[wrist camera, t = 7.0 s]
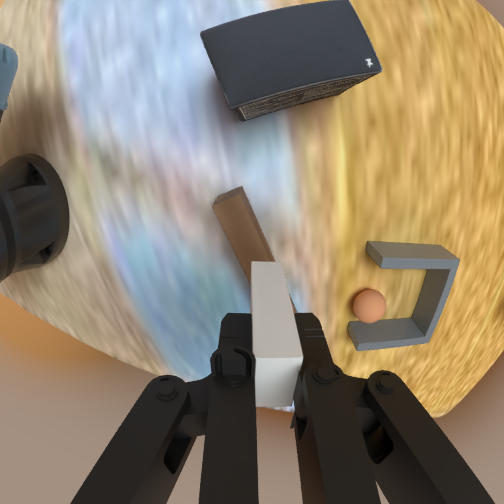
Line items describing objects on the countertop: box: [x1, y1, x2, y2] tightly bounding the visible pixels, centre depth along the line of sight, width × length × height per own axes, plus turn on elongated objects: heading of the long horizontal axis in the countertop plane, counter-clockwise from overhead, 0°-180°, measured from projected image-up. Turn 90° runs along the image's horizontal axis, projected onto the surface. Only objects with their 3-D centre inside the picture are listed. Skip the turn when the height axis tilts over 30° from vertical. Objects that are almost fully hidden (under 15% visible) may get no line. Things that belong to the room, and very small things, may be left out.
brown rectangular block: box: [212, 186, 297, 313], centre depth 27 cm, size 2×18×4 cm, turn 23°
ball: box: [353, 289, 386, 323], centre depth 30 cm, size 4×4×4 cm
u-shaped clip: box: [347, 241, 460, 351], centre depth 29 cm, size 11×12×4 cm
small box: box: [200, 0, 383, 121], centre depth 17 cm, size 11×6×10 cm, turn 110°
